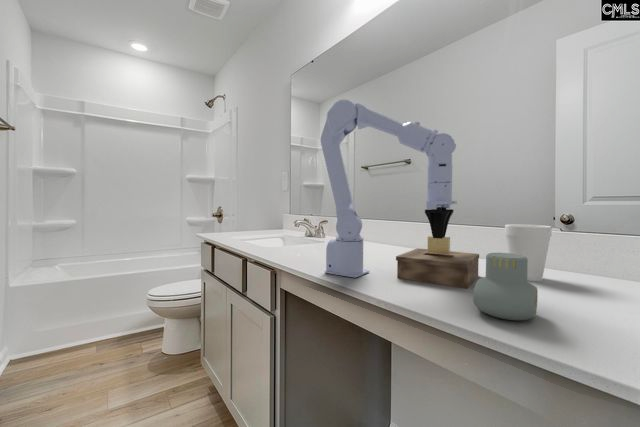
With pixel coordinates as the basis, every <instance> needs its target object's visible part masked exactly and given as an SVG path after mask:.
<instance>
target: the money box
mask: <svg viewBox="0 0 640 427" xmlns="http://www.w3.org/2000/svg"><path fill="white" fill-rule="evenodd" d="M479 259H480V253H471V252H464V251H463V252H462V251H451V250H450V254H440V253H428V248H415V249H411V250H409V251H406V252H404V253H401V254H398V255H396V256H395V261H397V264H396V265H397V266H396V267H397V270H396V271H397V273H396V274H397V276H396V278H397V279H404V280H410V281H417V282H422V283H423V282H424V283H431V284H436V285H442V286H448V287H449V286H450V287H456V288H461V289H462V288H463V289H469V288H470V286H471V285H472V284H473V283H474V281H476V279H477V278H478V277H479Z"/></svg>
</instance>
